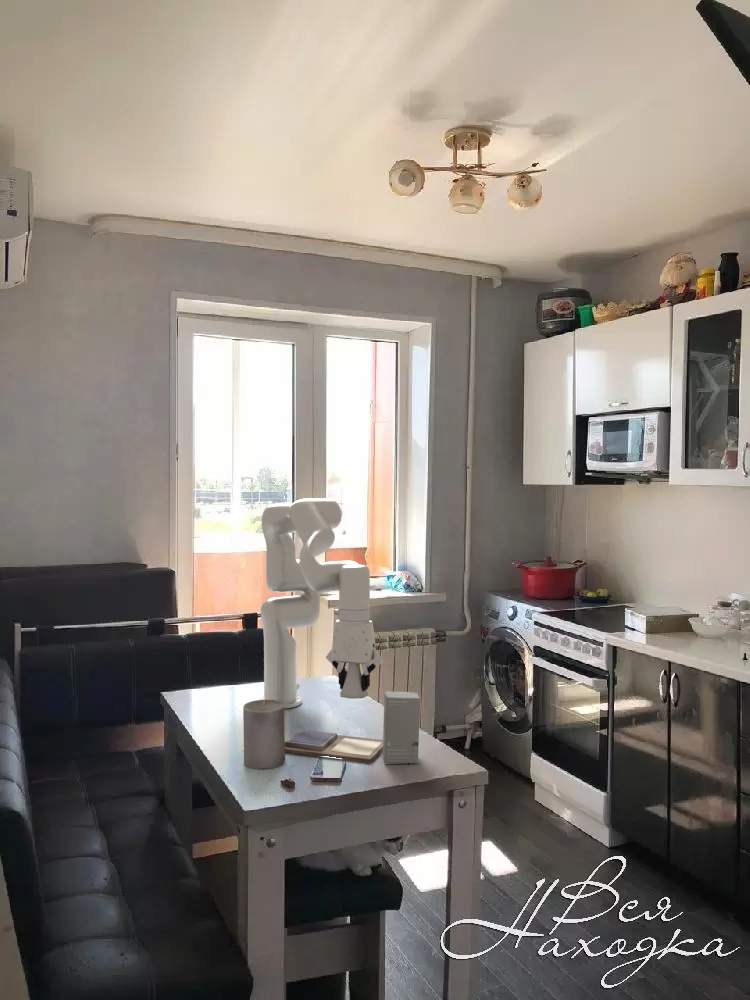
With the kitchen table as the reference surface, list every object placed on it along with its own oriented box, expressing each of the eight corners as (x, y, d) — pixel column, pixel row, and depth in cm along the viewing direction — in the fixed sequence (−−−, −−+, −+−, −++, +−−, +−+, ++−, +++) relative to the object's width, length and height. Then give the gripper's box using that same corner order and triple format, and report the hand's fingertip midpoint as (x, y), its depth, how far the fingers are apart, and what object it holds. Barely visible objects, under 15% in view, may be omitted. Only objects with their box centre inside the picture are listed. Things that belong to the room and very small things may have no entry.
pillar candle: (265, 752, 199) (264, 691, 198) (293, 761, 193) (292, 698, 192) (235, 763, 191) (234, 700, 191) (263, 773, 185) (262, 708, 185)
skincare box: (384, 765, 190) (384, 698, 190) (382, 754, 198) (382, 690, 197) (420, 764, 191) (420, 697, 190) (416, 753, 198) (417, 689, 198)
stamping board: (300, 734, 212) (300, 726, 212) (388, 744, 205) (388, 736, 205) (277, 751, 199) (277, 743, 199) (370, 763, 191) (370, 754, 191)
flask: (371, 692, 202) (371, 652, 202) (365, 700, 195) (365, 659, 195) (343, 690, 204) (343, 651, 204) (336, 698, 197) (336, 657, 197)
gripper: (316, 615, 198) (316, 689, 199) (382, 620, 193) (382, 696, 193) (328, 610, 205) (328, 682, 206) (392, 614, 200) (391, 688, 200)
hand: (354, 688), depth 200 cm, fingers closed on flask, 4 cm apart
